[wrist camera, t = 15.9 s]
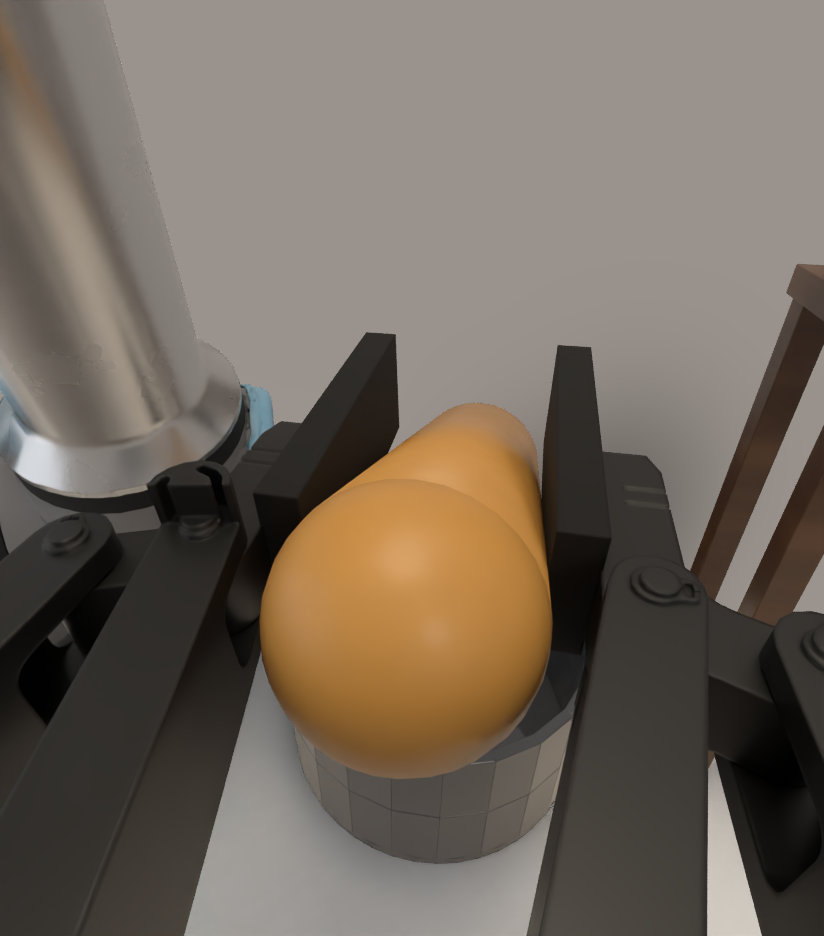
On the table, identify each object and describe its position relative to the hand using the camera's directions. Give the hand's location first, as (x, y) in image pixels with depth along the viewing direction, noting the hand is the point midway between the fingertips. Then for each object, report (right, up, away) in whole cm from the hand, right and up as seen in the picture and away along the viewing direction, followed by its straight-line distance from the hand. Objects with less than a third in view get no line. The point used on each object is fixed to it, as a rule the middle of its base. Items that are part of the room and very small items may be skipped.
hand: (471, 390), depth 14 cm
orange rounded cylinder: (-1, -5, -1) cm, 5 cm away
